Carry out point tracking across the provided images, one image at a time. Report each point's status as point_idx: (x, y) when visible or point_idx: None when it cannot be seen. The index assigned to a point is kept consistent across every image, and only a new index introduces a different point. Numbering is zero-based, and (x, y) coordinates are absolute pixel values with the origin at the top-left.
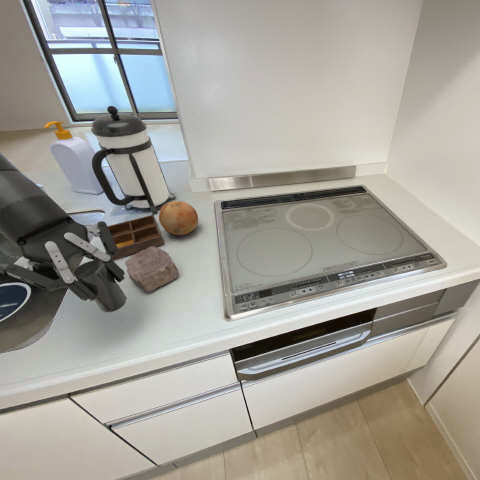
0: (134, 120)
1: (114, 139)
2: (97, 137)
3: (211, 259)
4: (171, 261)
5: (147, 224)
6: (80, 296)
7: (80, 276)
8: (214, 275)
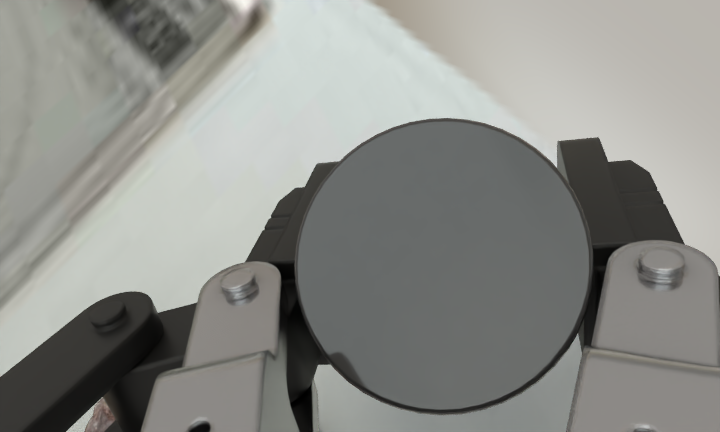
0: None
1: None
2: None
3: (20, 337)
4: (92, 423)
5: None
6: (653, 184)
7: (558, 204)
8: (99, 238)
